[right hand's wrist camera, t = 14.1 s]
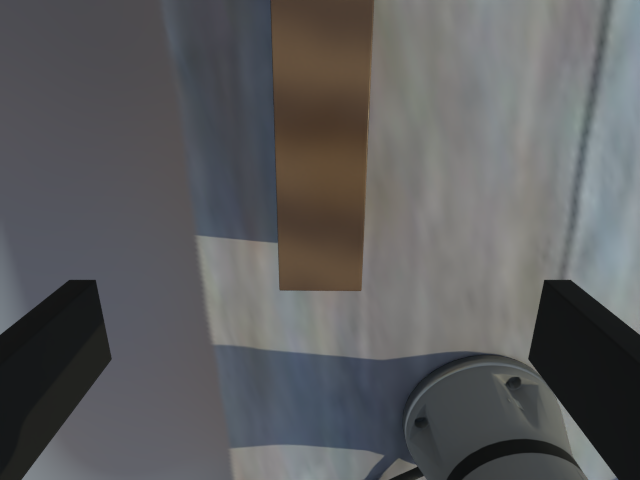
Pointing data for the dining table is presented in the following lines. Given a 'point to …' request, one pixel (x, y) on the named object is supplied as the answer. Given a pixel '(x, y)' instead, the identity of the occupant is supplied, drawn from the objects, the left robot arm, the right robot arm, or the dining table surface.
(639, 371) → the right robot arm
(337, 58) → the post
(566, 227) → the dining table surface
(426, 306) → the dining table surface
